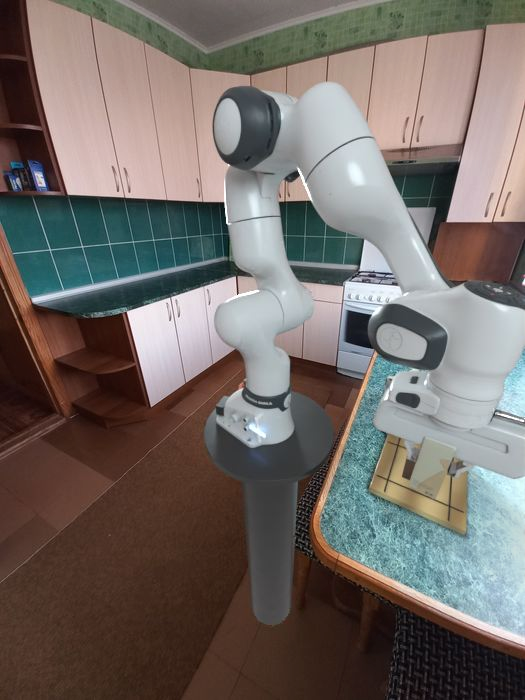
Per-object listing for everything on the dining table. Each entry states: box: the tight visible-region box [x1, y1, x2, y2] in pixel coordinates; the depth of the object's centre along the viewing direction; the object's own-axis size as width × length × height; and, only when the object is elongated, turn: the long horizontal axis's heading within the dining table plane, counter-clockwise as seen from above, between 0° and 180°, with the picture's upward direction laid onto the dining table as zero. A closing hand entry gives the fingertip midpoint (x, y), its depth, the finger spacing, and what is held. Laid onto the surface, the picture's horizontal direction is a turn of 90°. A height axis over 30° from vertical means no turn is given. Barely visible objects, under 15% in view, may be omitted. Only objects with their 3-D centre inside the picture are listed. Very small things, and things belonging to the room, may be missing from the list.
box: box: [409, 437, 457, 499], centre depth 47 cm, size 5×4×11 cm
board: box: [368, 433, 468, 536], centre depth 67 cm, size 18×20×2 cm
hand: (431, 465), depth 48 cm, fingers closed on box, 4 cm apart
